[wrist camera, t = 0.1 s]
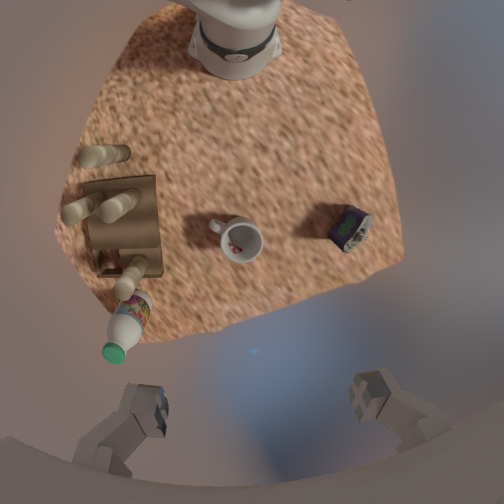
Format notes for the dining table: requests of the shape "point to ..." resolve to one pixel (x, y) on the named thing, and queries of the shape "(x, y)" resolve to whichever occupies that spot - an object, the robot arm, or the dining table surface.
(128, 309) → the milk bottle
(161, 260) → the stool
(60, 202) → the dining table surface
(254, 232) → the cup
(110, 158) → the loose leg
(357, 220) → the flask
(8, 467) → the robot arm
